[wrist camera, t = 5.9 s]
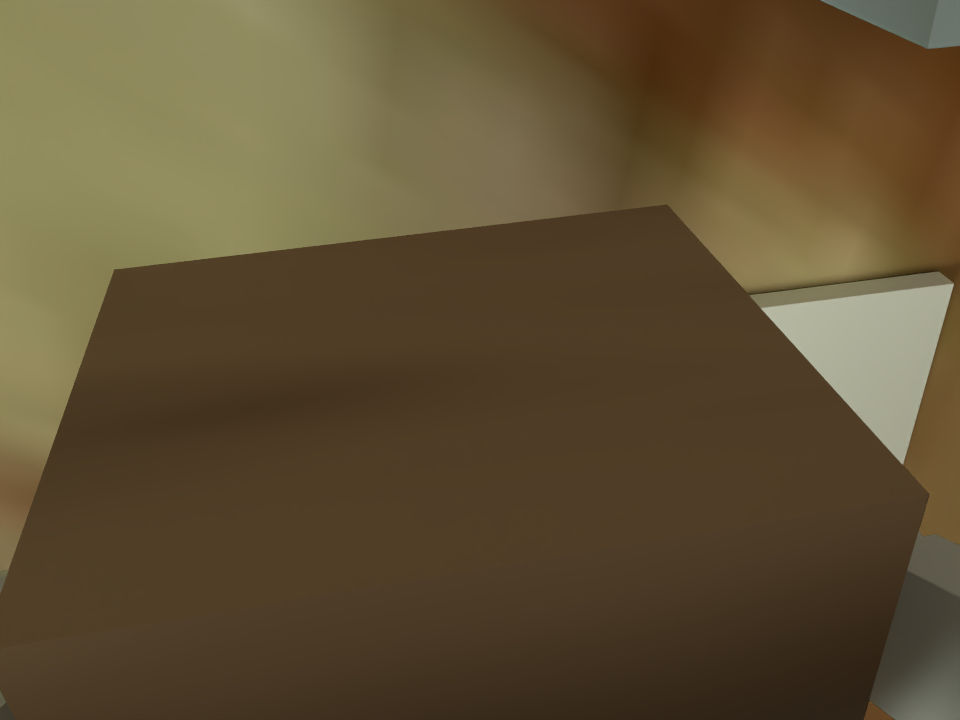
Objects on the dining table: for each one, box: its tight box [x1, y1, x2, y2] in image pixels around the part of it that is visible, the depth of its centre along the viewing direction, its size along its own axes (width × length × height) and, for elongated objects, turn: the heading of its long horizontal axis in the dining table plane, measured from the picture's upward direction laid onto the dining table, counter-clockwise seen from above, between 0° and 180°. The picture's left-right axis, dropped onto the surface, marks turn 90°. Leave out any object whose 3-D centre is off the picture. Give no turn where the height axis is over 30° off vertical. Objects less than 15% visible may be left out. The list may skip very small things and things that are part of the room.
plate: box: [749, 271, 954, 465], centre depth 31 cm, size 14×14×1 cm
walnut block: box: [0, 205, 929, 720], centre depth 9 cm, size 6×6×5 cm
